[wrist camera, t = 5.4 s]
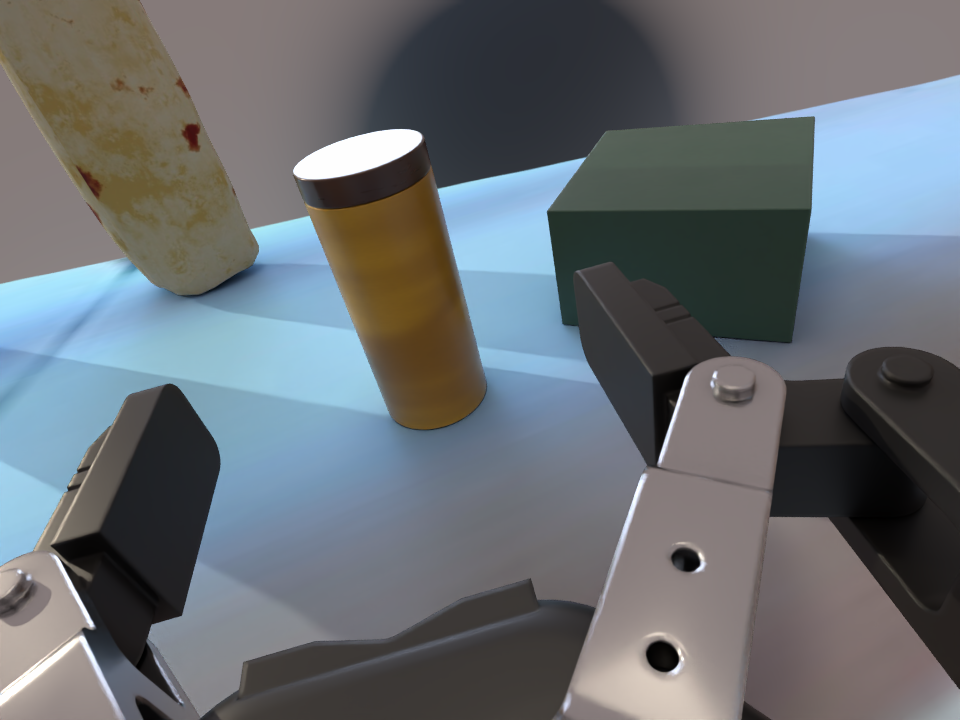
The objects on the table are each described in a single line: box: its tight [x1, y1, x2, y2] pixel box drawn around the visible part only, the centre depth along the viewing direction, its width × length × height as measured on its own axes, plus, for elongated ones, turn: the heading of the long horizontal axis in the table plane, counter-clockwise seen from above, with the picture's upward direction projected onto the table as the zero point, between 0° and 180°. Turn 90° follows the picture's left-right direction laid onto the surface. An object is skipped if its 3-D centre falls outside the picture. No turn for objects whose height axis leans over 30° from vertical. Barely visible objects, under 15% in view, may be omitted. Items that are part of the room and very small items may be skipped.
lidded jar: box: [293, 129, 487, 430], centre depth 23 cm, size 5×5×11 cm
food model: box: [0, 0, 259, 295], centre depth 36 cm, size 10×7×20 cm
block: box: [547, 116, 815, 343], centre depth 28 cm, size 10×10×6 cm
